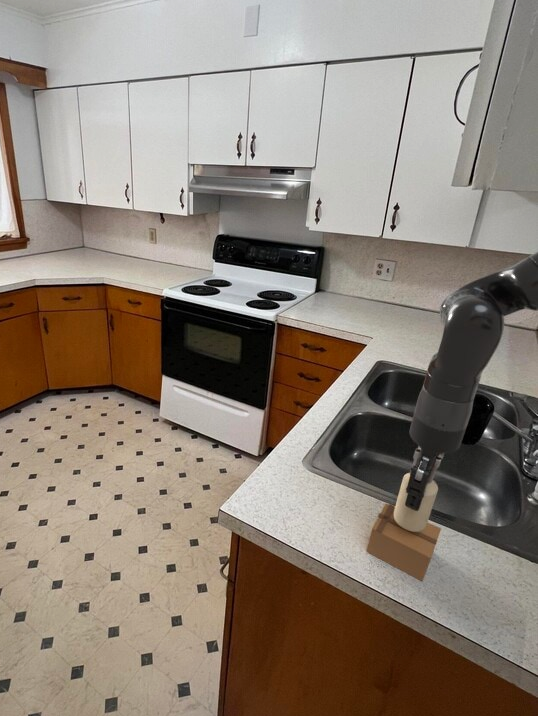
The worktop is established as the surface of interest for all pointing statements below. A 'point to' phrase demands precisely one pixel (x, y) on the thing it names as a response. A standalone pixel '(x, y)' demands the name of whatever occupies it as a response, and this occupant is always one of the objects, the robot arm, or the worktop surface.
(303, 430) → the worktop surface
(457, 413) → the robot arm
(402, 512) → the candle
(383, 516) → the cardboard box
